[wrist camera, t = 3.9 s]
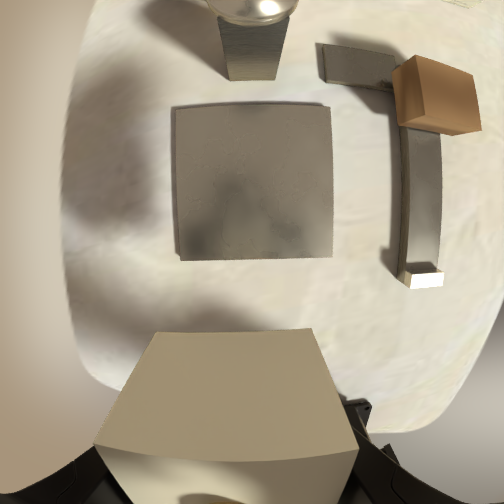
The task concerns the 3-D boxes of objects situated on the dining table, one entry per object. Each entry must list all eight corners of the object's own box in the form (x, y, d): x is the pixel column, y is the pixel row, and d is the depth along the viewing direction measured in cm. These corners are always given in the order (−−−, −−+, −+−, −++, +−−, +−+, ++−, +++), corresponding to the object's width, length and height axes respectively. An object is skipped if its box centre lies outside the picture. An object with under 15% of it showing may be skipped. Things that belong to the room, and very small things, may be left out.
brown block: (451, 135, 16) (481, 130, 12) (397, 125, 16) (424, 115, 12) (445, 86, 15) (472, 75, 12) (391, 72, 15) (415, 54, 12)
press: (427, 276, 20) (499, 320, 11) (184, 286, 20) (143, 352, 11) (420, 62, 16) (486, 21, 7) (180, 44, 16) (142, -27, 7)
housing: (302, 431, 10) (324, 547, 4) (180, 432, 10) (154, 545, 4) (311, 328, 9) (368, 471, 3) (156, 331, 9) (82, 463, 3)
